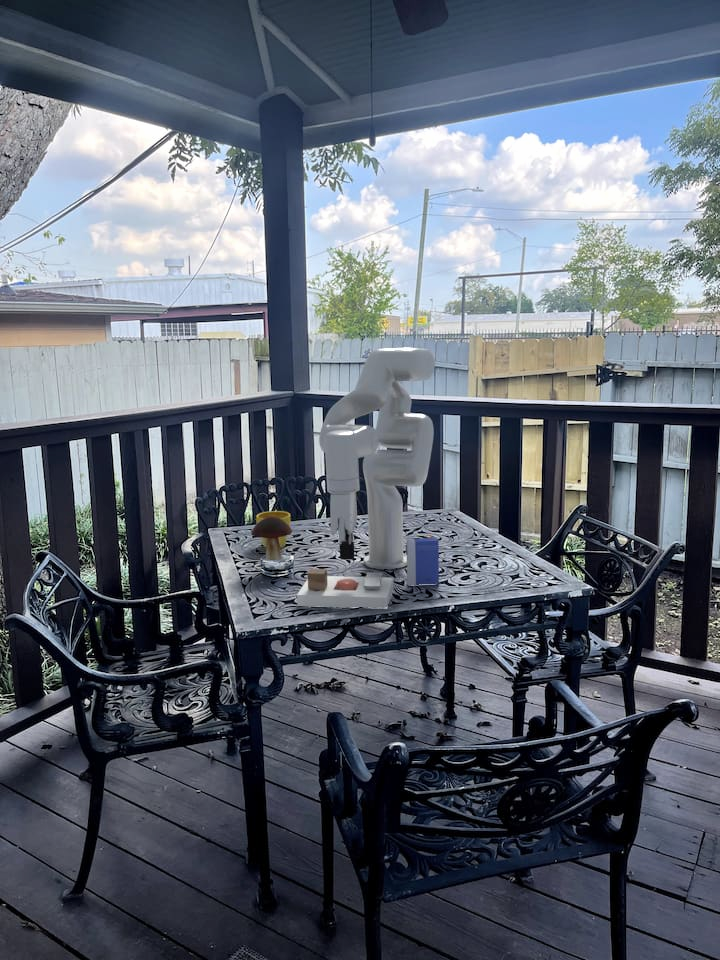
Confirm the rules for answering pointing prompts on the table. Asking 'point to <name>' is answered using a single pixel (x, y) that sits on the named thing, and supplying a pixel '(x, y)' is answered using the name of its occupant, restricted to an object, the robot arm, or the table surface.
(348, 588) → the red button
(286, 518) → the plant pot
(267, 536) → the decorative mushroom
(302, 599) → the control panel
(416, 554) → the walkman
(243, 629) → the table surface
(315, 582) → the walnut slider
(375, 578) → the grey rocker
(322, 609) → the table surface
